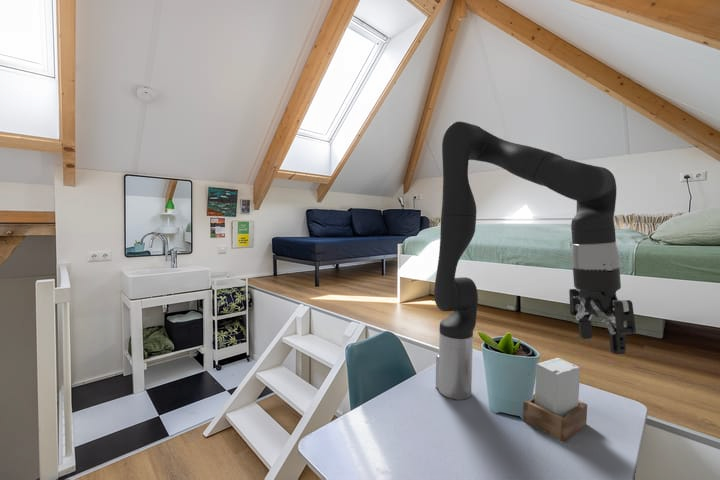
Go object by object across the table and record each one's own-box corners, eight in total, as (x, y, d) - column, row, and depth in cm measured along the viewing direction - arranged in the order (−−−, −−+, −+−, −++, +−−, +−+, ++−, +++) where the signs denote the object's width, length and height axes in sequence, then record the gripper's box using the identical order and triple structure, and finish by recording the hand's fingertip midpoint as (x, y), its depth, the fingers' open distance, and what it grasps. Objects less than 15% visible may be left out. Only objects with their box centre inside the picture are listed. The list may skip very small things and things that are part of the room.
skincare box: (555, 411, 81) (557, 356, 80) (579, 426, 76) (582, 366, 75) (532, 419, 78) (534, 361, 77) (555, 435, 72) (558, 372, 71)
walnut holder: (522, 420, 78) (523, 401, 77) (545, 405, 84) (546, 387, 84) (565, 442, 70) (566, 421, 69) (586, 424, 76) (587, 404, 76)
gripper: (554, 263, 70) (560, 335, 70) (603, 271, 56) (609, 361, 56) (588, 260, 70) (594, 332, 70) (645, 267, 55) (652, 357, 56)
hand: (601, 345), depth 63 cm, fingers open, 8 cm apart
